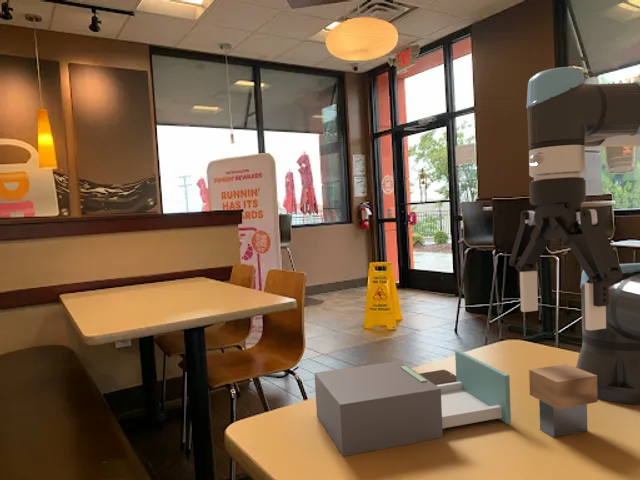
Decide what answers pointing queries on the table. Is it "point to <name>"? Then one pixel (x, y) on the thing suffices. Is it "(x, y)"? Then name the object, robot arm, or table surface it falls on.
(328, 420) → the housing
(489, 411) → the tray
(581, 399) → the walnut block
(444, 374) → the smartphone
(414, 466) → the table surface
